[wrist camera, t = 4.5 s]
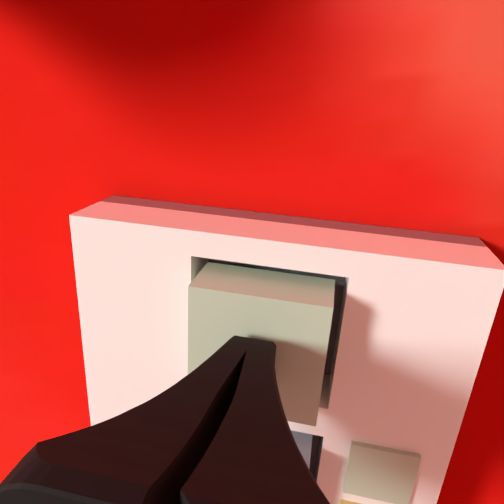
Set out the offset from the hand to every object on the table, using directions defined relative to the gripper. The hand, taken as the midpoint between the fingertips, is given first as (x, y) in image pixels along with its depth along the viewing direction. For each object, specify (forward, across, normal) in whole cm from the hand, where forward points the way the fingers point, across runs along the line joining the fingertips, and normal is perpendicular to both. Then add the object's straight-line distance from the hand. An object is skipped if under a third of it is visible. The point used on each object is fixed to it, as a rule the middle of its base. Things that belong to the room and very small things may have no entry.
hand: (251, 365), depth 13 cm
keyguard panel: (+5, 0, +6) cm, 8 cm away
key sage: (+2, 0, 0) cm, 2 cm away
